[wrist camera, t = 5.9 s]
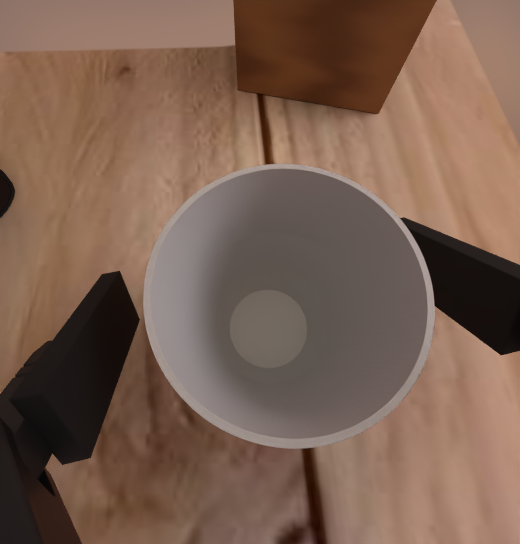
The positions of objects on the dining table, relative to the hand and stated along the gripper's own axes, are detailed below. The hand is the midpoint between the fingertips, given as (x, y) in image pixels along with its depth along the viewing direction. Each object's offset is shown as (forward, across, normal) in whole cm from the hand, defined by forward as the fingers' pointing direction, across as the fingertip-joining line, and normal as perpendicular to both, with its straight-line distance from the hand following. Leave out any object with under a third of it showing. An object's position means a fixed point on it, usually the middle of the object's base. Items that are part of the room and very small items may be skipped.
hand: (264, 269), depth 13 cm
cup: (+2, 0, -5) cm, 5 cm away
